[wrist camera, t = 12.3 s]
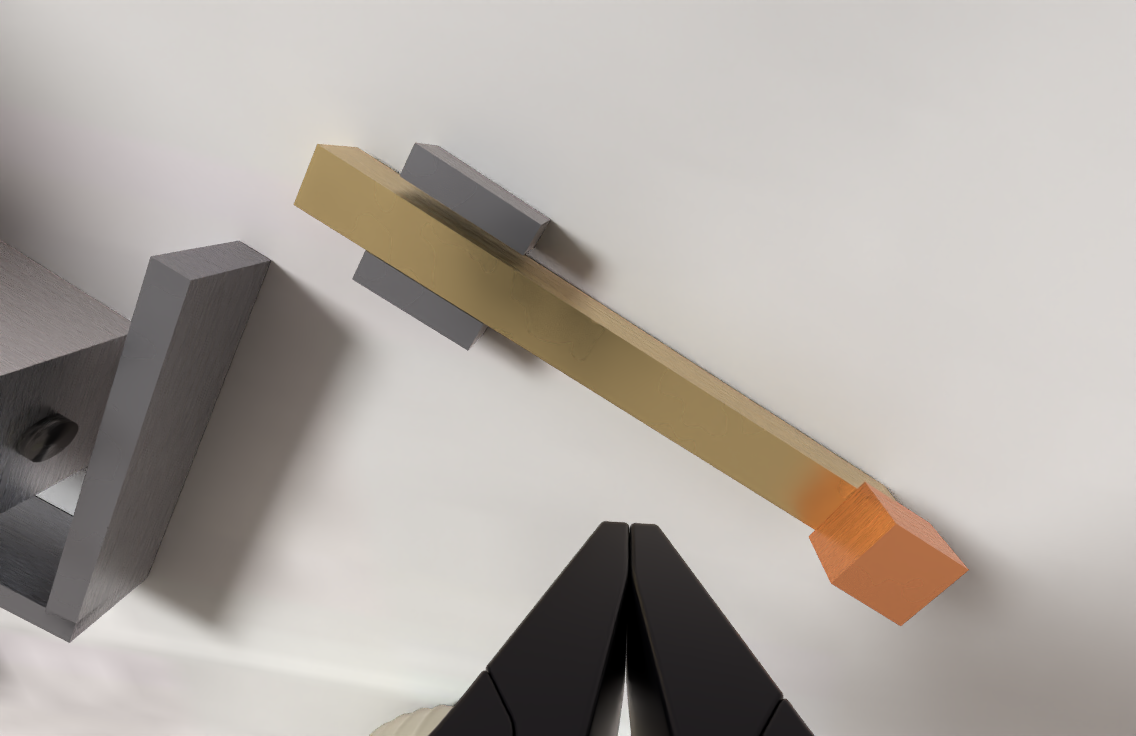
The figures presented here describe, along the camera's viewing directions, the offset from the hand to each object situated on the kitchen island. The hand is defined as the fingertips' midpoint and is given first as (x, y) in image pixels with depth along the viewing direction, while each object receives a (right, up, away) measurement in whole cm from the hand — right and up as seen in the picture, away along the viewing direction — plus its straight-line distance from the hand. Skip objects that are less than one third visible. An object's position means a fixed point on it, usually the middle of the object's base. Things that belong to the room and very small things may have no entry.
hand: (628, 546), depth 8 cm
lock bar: (+1, +4, +9) cm, 10 cm away
